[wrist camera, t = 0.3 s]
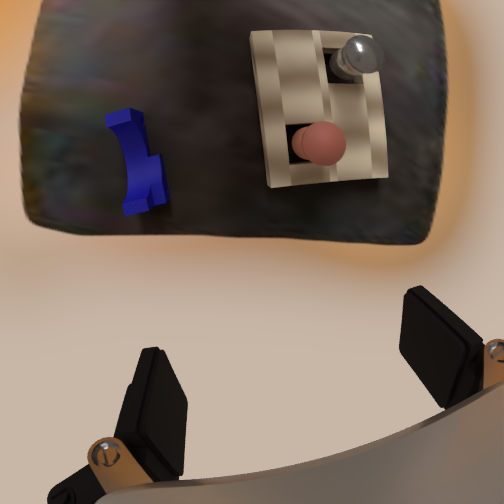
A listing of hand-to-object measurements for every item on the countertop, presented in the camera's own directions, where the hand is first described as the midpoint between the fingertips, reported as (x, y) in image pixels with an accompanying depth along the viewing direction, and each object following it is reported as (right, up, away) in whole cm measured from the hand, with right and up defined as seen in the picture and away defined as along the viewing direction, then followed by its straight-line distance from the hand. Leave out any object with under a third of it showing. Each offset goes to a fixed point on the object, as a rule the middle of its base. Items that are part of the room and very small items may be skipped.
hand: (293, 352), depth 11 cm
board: (+7, +23, +25) cm, 34 cm away
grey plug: (+10, +27, +20) cm, 35 cm away
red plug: (+5, +17, +23) cm, 29 cm away
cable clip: (-15, +16, +25) cm, 34 cm away
